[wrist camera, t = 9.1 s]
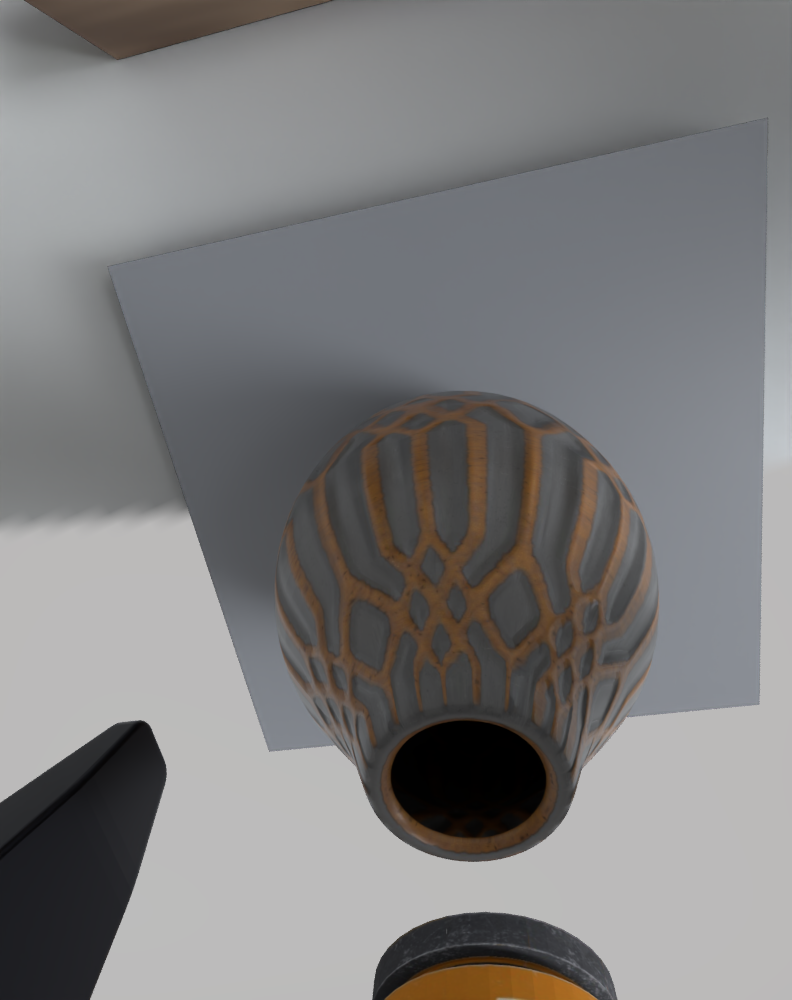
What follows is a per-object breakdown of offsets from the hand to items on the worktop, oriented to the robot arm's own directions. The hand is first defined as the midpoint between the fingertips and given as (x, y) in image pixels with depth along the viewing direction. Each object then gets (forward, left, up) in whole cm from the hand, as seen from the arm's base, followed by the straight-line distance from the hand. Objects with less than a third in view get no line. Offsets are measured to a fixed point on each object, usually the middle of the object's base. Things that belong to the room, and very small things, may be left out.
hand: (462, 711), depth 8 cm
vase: (0, 0, -8) cm, 8 cm away
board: (0, 0, -9) cm, 9 cm away
